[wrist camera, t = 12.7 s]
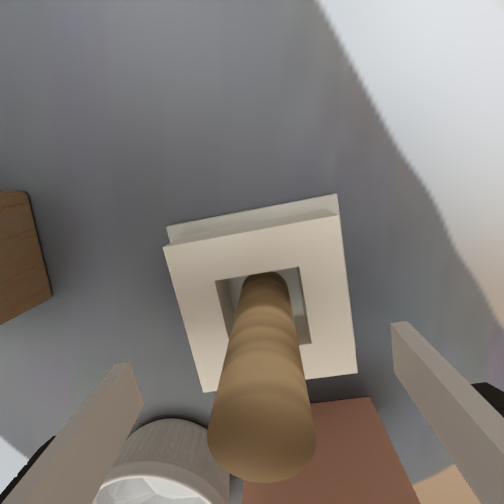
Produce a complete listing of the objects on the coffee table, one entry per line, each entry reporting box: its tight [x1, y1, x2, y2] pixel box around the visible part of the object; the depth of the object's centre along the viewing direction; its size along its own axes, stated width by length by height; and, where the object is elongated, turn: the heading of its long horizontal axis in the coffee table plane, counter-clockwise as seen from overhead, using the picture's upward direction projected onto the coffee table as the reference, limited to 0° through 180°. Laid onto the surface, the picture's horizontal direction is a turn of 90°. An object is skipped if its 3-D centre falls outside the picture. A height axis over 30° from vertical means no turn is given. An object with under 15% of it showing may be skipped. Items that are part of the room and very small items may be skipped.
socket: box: [163, 193, 358, 393], centre depth 22 cm, size 14×14×5 cm
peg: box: [207, 271, 316, 483], centre depth 17 cm, size 4×4×14 cm
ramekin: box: [92, 418, 230, 504], centre depth 27 cm, size 13×13×7 cm
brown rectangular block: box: [242, 397, 420, 504], centre depth 18 cm, size 7×12×18 cm, turn 101°
